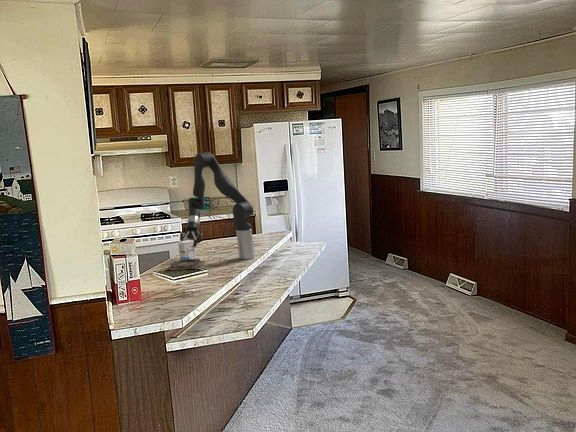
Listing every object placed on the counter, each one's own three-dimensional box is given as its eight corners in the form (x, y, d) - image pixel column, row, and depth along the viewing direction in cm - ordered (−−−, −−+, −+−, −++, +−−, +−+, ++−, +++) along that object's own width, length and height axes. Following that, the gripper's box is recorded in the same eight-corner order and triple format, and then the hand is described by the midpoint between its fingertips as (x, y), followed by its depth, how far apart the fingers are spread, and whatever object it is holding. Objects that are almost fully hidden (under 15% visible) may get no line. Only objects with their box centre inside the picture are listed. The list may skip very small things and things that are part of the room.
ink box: (185, 262, 315) (183, 242, 314) (180, 261, 318) (177, 242, 317) (196, 258, 322) (194, 239, 320) (190, 258, 325) (188, 239, 323)
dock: (205, 262, 311) (205, 256, 311) (196, 269, 294) (195, 263, 293) (176, 263, 314) (176, 257, 313) (165, 271, 296) (164, 264, 296)
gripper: (180, 221, 329) (175, 244, 319) (202, 220, 326) (198, 242, 317) (183, 228, 334) (179, 250, 325) (205, 227, 332) (202, 249, 322)
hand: (189, 246), depth 321 cm, fingers closed on ink box, 6 cm apart
